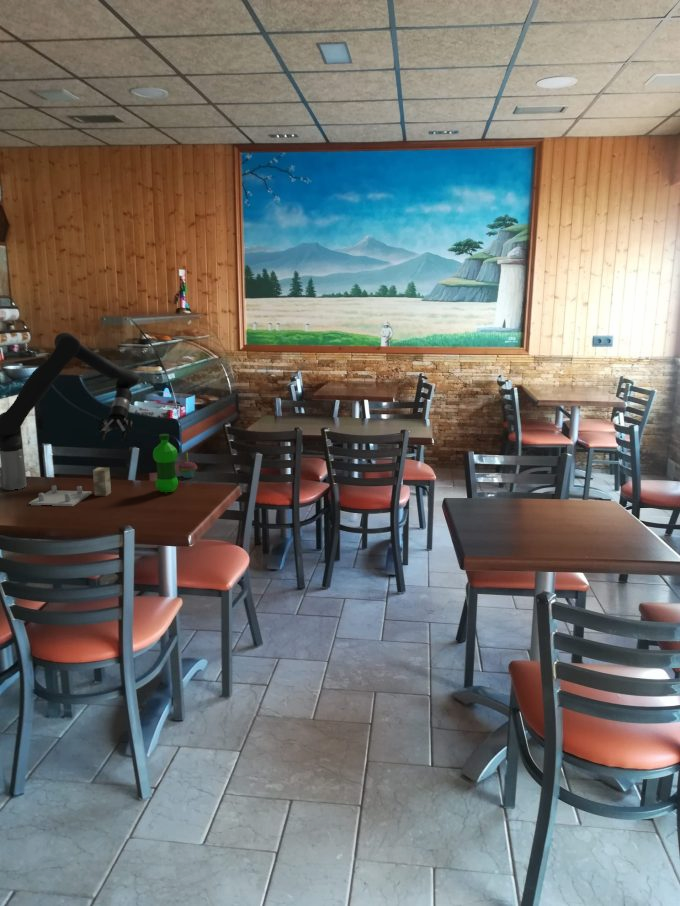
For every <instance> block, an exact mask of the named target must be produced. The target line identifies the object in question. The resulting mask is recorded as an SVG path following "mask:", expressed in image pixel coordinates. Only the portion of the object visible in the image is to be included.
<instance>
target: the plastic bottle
mask: <svg viewBox="0 0 680 906" xmlns="http://www.w3.org/2000/svg"><path fill="white" fill-rule="evenodd" d="M158 436H159V437H158V438H159V441H160V443H159V444H157V446H156V447H154V448H153V451H152V458H153V460H154V461H155V462H156V480H155V484H154V485H155V487H156V489H157V490H158V491H159V492H160V493H162V492H171V493H173V492H174V491H175V490H176V489H177V488H178V486H179V480H178V477H177V476H176V460H177V459H178V450H177V448H176V447H175V446H174V445H173V444H171V442H169V440H170V434H169V433H161V434H159V435H158ZM172 491H173V492H172Z"/></svg>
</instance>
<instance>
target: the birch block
mask: <svg viewBox="0 0 680 906" xmlns="http://www.w3.org/2000/svg"><path fill="white" fill-rule="evenodd" d="M110 471H111V470H110V467H98V466H97V467H96V468H95V469H93V470H92V476H93V489H94V496H95V497H96V496H98V497H99V496H100V497H104V496H105V497H107V496H108V495H110V494H111V493H112V490H111V489H112V488H111V487H112V486H111V485H112V484H111V473H110Z"/></svg>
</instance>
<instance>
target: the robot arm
mask: <svg viewBox="0 0 680 906" xmlns="http://www.w3.org/2000/svg"><path fill="white" fill-rule="evenodd" d="M54 347H55V349H54V351H53V352H52V353H51V355H50V356H49V357H48V358H47V360H45V361H44V362H43V363H42V364H40V365H39V366H38V367H36V368H35V369H34V370H33V372H32V373H31V374H30V375H29V376H28V378H27V380H25V382H24V383H23V385H22V387H21V389H20V390H19V392H18V394H17V396H16V398H15V400H14V401H13V403H12V404H11V406H9V408H7V410H6V411H4V412H2V413H1V414H0V485H1V486H0V487H1V490H6V491H16V490H15V489H18V490H22V488H23V489H25V488H27V487H26V486H27V485H28V482H27V476H26V475H27V473H26V465H25V464H26V463H25V455H24V454H25V453H24V446H23V435H22V425H23V423H24V421H25V420H26V419H27V417H28V415H29V414H30V413H31V411H32V410H33V409H34V408H35V407H36V406H37V405H38V403H39V402H40V401H41V400H42V399H43V397H44V396H45V395H46V394H47V392H48V391H49V390H50V388H51V387H52V385H53V384H54V383H55V382H56V380H57V378H58V377H59V376H60V374H61V372H62V371H64V369H65V367H66V366H67V365H68V364H69V362H71V360H72V359H73V358H76V359H78V360H79V361H81V362H83V363H85V364H86V366H87V365H88V366H89V367H90V368H91V369H93V370H94V371H96V372H98V373H99V374H101V375H103V376H104V377H106V378H107V379H110V380H114V379H116V384H115V392H116V393H115V397H114V400H113V402H112V404H111V408H110V411H109V415H108V419H104V418H101V419H100V422H99V424H98V428H97V430H98V432H99V433H100V436H99V438H100V439H101V441H106V440H105V439H106V436H107V433H108V432H110V431H112V430H120V429H121V433H120V436H119V440H120V441H121V442H123V441H124V440H125V438H126V435H127V434H131V433H132V429H133V424H134V423H133V421H132V419H131V418H129V419H128V415H129V412H130V408H131V401H132V396H133V393H132V391H131V390H130V389H132V388H133V387H135V386H136V385H137V384H139V382H140V381H139V380H140V379H139V376H138V374H137V373H136V372H135V371H134V370H131V369H129V368H127V367H123V366H120V365H118V364H116V363H114V362H112V361H111V360H109V359H108V358H105V357H104V356H102V355H100V354H98V353H97V352H94V351H93V350H92V349H89V348H88V347H87V346H85V345H84V344H82V343H81V342H80V340H79V338H77V337H76V336H75V335H73V334H71V333H69V332H61V333H59V334H57V336H56V337H55V338H54ZM125 425H126V428H125ZM24 487H25V488H24Z"/></svg>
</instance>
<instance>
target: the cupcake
mask: <svg viewBox="0 0 680 906" xmlns="http://www.w3.org/2000/svg"><path fill="white" fill-rule="evenodd" d="M185 454H186V461H184V462H181V463H180V464H179V465H178V471H179V472H180V473H181V475H182V478H186V479H190V478H193V477H194V475H195V471H196V470H197V469H198V465H197V464H196V463H195V462H194V461H189V453H188V452H186V453H185Z"/></svg>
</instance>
